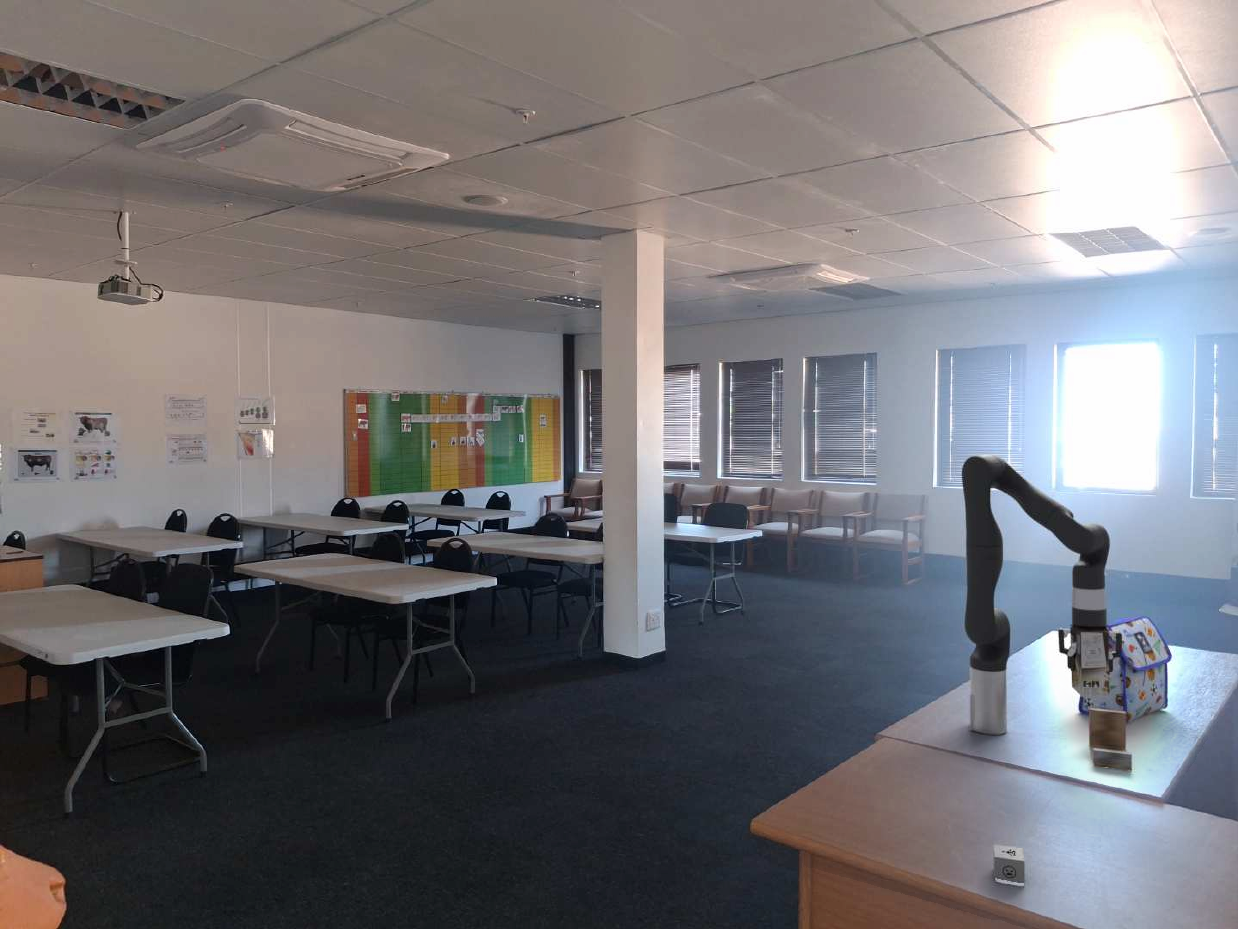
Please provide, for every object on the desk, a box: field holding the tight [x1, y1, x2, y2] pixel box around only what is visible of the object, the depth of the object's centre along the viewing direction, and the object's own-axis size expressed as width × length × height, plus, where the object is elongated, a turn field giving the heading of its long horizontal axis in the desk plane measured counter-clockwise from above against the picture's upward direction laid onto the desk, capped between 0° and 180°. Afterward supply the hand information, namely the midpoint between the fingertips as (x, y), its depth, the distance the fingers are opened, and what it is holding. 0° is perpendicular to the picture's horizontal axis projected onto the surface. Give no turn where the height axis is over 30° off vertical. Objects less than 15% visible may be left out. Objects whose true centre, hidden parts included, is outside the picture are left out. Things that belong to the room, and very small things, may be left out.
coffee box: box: [1069, 623, 1109, 698], centre depth 211 cm, size 9×6×16 cm
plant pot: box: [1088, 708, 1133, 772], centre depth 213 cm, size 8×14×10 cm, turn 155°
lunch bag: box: [1077, 615, 1173, 724], centre depth 244 cm, size 23×17×27 cm
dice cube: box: [992, 843, 1026, 884], centre depth 160 cm, size 5×5×5 cm
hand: (1090, 672), depth 211 cm, fingers closed on coffee box, 7 cm apart
